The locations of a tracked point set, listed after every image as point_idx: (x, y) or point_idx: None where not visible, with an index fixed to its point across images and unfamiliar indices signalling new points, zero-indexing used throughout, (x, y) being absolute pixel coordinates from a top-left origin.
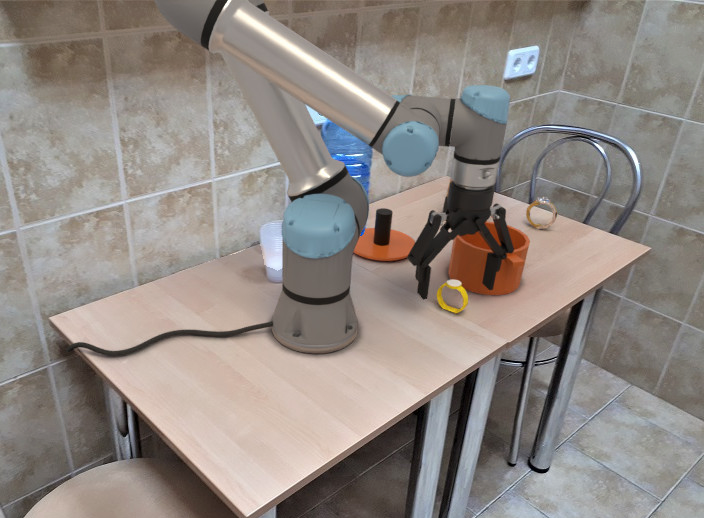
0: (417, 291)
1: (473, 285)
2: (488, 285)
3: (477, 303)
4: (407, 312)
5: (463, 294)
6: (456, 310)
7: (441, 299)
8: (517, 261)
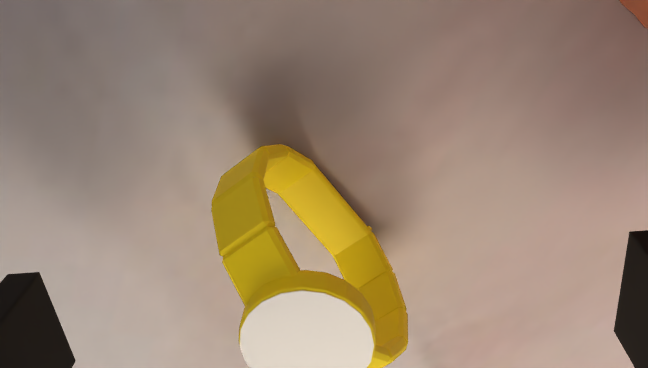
0: (3, 284)
1: (639, 5)
2: (630, 333)
3: (548, 153)
4: (32, 189)
5: None
6: (345, 246)
7: (269, 167)
8: None
